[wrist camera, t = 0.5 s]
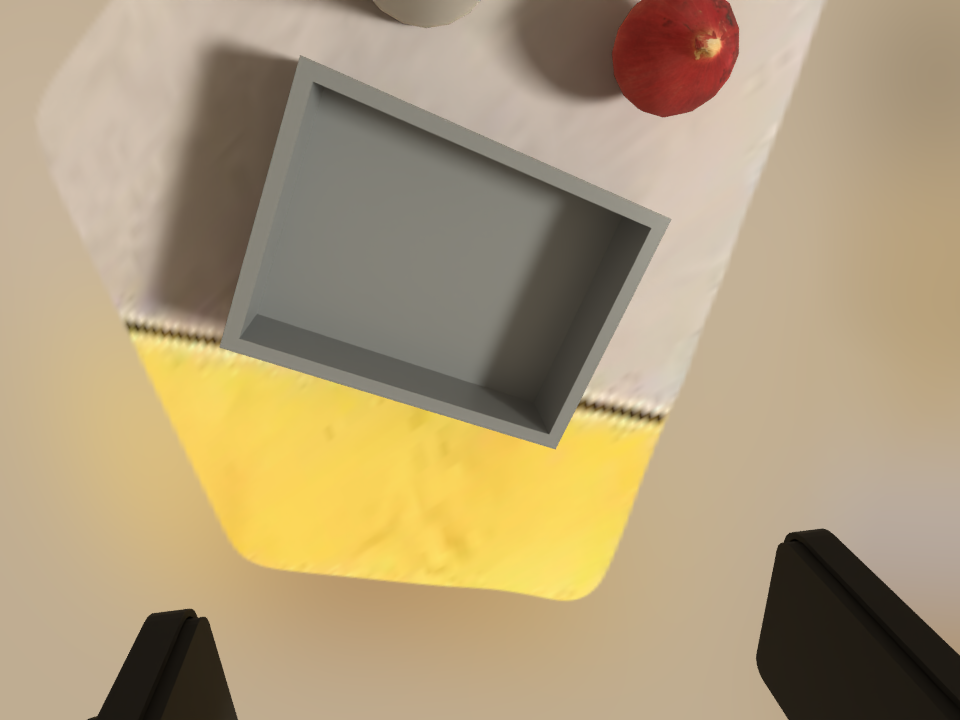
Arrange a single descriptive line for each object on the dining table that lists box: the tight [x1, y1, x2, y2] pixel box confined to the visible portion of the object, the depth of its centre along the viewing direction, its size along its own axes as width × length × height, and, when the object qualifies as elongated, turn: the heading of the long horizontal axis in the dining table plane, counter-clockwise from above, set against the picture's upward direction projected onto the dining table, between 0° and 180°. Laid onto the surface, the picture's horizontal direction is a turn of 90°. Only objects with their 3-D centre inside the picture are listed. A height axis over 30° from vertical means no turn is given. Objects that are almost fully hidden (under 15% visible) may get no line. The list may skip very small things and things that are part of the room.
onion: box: [612, 0, 739, 117], centre depth 29 cm, size 6×6×8 cm
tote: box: [220, 55, 671, 449], centre depth 33 cm, size 15×20×5 cm
